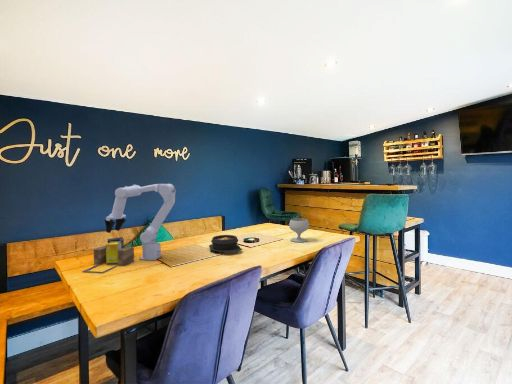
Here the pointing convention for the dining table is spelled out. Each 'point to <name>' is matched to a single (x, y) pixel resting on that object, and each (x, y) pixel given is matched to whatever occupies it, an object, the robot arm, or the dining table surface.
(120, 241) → the box
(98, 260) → the shelf blocks
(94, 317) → the dining table surface
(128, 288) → the dining table surface
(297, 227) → the chalice
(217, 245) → the black round squat piece
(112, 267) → the stand outline
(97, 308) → the dining table surface
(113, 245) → the supplement box
